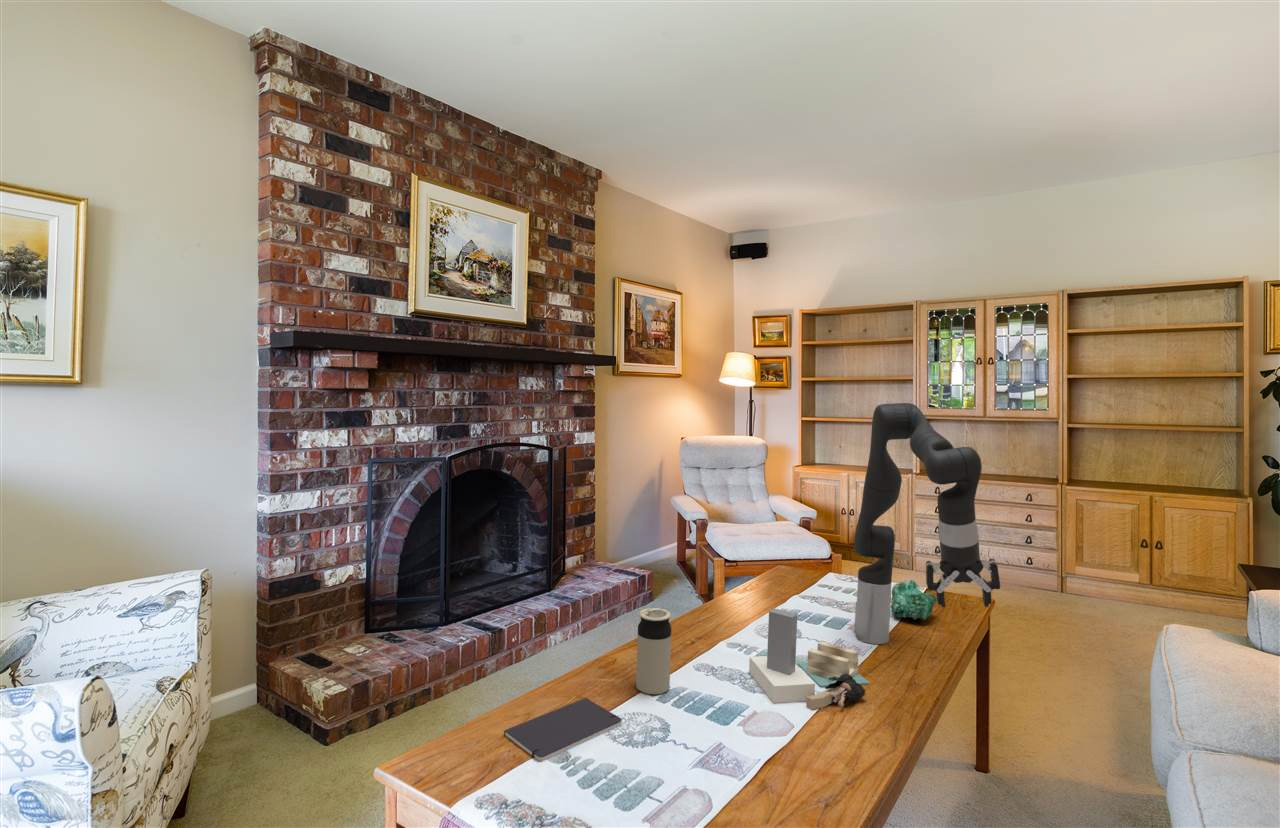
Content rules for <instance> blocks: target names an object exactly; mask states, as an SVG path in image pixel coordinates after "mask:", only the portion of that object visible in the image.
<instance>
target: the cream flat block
mask: <svg viewBox="0 0 1280 828" xmlns="http://www.w3.org/2000/svg"><path fill="white" fill-rule="evenodd" d="M748 673H749V674H750V675H751V677H752V678H753V679H754V680H755V682H756V683H757V684H758V686H759V687H760V688H761V689H762V691H763V692H764V693H765V694H766V695H767V697H768V698H769V700H770V701H771V702H772V703H773V704H781V703H782V704H785V703H797V702H806V697H807V696H808V697H809V696H811V695H816V694H815V691H816V690H815V689H816V682H815V681H814V680H813V679H812V678H811V677H810V676H809V675H808V674H807V673H806V672H805V671H804V670H803V669H802V668H801V667H800V666H799V665H798V664H797V663H795V672H793V673H792V674H791V675H787V674H784V673H780V672H777V671H774V670H771V669H768V668H767V655H763V656H762V655H761V656H760V655H758V656H749V666H748Z"/></svg>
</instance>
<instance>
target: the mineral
mask: <svg viewBox="0 0 1280 828" xmlns="http://www.w3.org/2000/svg"><path fill="white" fill-rule="evenodd" d="M936 603H938V601H937V596H935V595H934V594H931V593H930V592H926V593H925V592H924V593H923V592H922V591H921V590H920V589H919V584H918V583H917V582H916V581H915V580H914V579H910V580H904V581H901V582H899V583H896V584H894V586H893V587H891V604H890V612H891V613H892V614H894V615H895V616H897V617H899V618H912V619H913V620H915V621H916V620H917V619H920V620H919V621H920V622H923V621H927V620H926V619H927V618H929V617H930V616H931V615H932V613H933V607H934V606H935V604H936Z"/></svg>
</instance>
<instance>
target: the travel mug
mask: <svg viewBox="0 0 1280 828" xmlns="http://www.w3.org/2000/svg"><path fill="white" fill-rule="evenodd" d="M671 614H672V613H671V612H670V611H668V610H667V609H664V608H659V607H650V608H644V609H641V610H640V611H639V615H638V616H640V617H639V618H640V621H639V623H638V625H637V642H636V643H637V647H636V674H635V675H636V676H635V677H636V679H635V682H636V683H635V687H636V688H637V690H638V691H640V692H642V693H644V694H647V695H661V694H663V693H666V692H667V691H669V690H670V685H671V684H670V682H671V649H672V626H671V623H670V618H671V616H672V615H671Z"/></svg>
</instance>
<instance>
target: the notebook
mask: <svg viewBox="0 0 1280 828" xmlns="http://www.w3.org/2000/svg"><path fill="white" fill-rule="evenodd" d="M622 721H623V719H622V718H621V717H619V716H618V715H616V714H614V713H613V712H611V711H609V710H607V709H605V708H604V707H602V706H600V705H599V704H597V703H595V702H594V701H592V700H590V699H589V698H588V697H584V698H582V699H579V700H577V701H574V702H571V703H569V704H567V705H564V706H561V707H559V708H557V709H554V710H552V711H550V712H547V713H544V714H542V715H539V716H537V717H534V718H531V719H529V720H527V721H523V722H522V723H519V724H517V725H514V726H512V727H510V728H507V729H504V732H503V733H504V734H503V735H504V736H506V737H507V738H508V739H510V740H511V741H512V742H514V743H515V744H517V745H518V746H519V747H520V748H522V750H524V751H525V752H527V753H528V754H529V755H530V756H531V757H532V758H534V759H536V760H538V761H539V762H543V761H546V760H548V759H551V758H553V757H555V756H557V755H560V754H562V753H563V752H565V751H568V750H570V749H572V748H575V747H577V746H579V745H582V744H583V743H585V742H588V741H590V740H591V739H594V738H597V737H599V736H600V735H603V734H605V733H607V732H610V731H612V730H614V729H616V728H617V727H620V726H621V723H622Z"/></svg>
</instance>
